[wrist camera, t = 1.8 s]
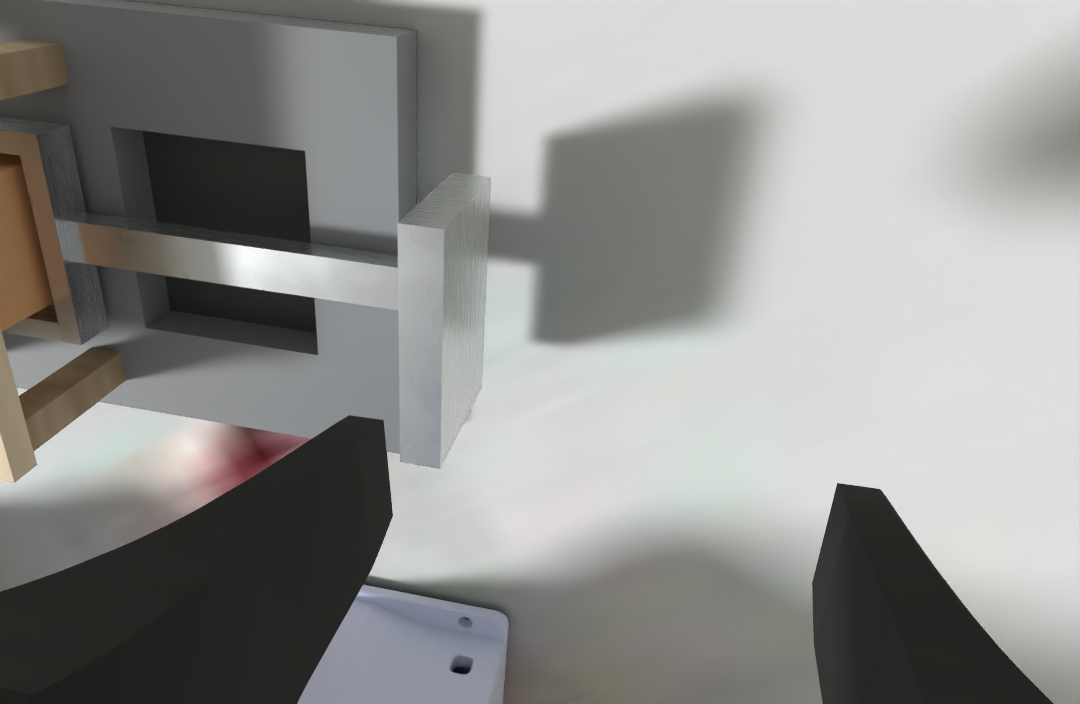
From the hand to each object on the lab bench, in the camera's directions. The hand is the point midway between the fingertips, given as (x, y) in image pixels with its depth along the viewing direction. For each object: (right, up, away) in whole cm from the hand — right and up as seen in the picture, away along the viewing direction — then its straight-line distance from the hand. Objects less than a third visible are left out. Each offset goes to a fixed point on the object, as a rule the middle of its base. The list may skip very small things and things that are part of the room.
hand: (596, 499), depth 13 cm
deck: (-16, +7, +12) cm, 21 cm away
